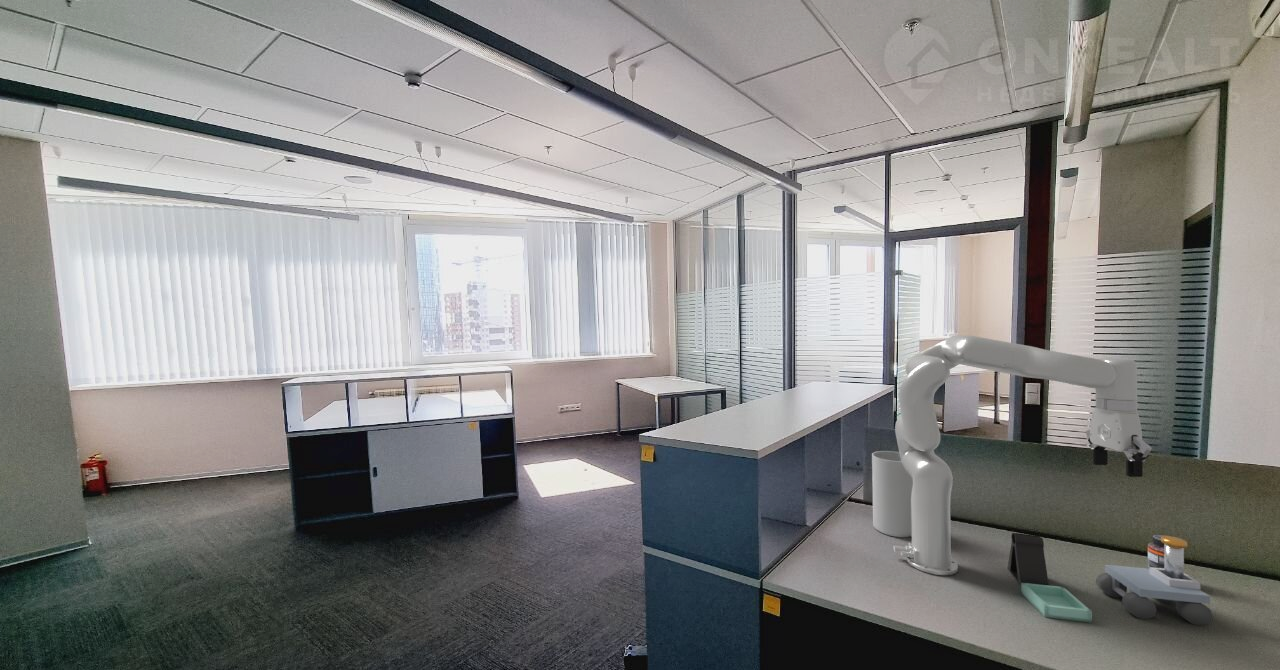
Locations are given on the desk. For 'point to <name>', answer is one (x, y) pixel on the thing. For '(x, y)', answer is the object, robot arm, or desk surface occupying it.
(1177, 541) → the pin
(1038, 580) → the phone stand
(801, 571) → the desk surface
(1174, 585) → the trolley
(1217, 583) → the desk surface
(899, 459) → the cylinder vase
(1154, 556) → the supplement bottle
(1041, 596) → the tray
